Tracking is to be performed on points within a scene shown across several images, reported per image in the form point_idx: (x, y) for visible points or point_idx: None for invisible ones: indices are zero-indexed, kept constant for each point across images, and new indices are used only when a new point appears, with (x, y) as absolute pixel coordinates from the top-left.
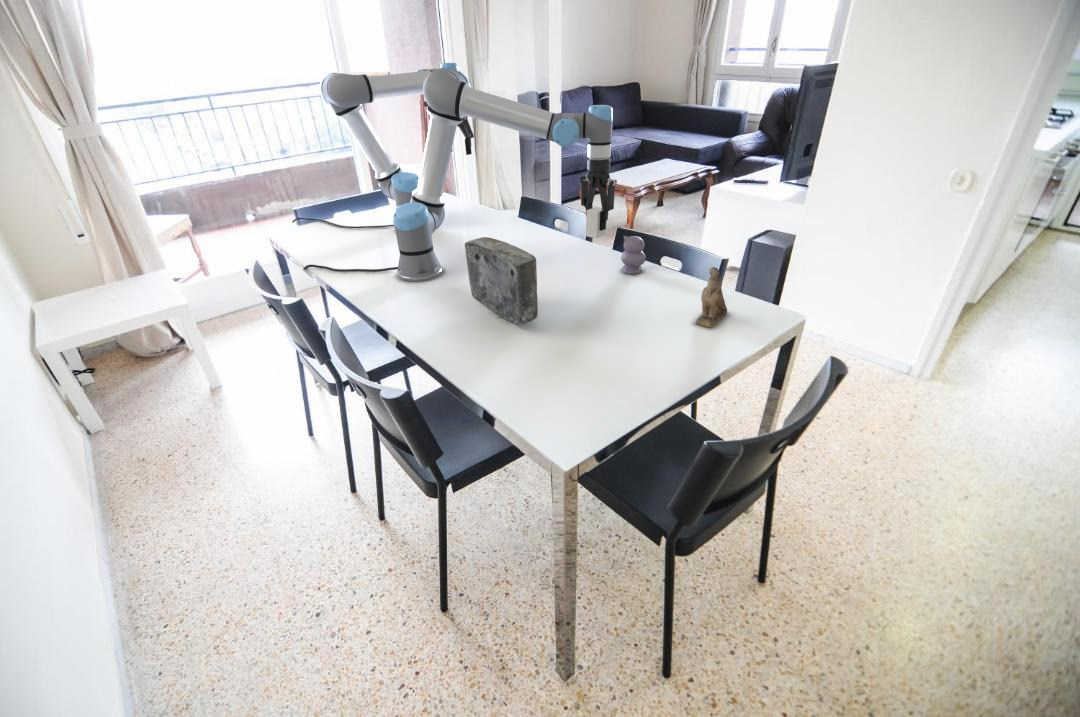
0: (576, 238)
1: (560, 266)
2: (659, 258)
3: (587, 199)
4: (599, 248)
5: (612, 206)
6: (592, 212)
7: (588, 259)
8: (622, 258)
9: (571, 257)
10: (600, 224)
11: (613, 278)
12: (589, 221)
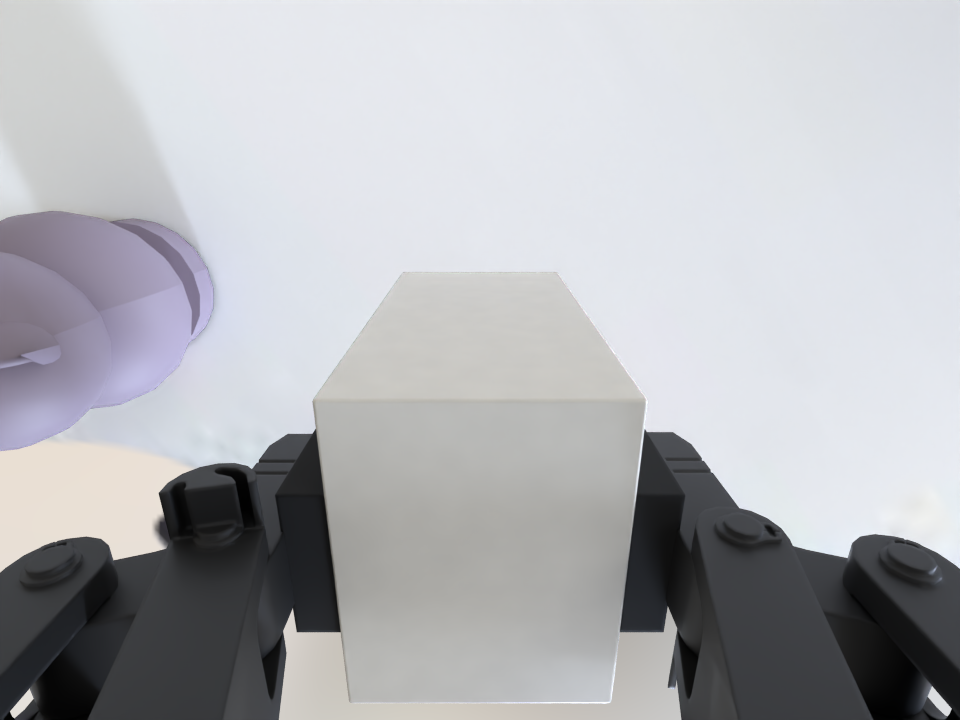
0: None
1: (644, 21)
2: None
3: (836, 714)
4: None
5: (37, 716)
6: (463, 389)
7: None
8: (105, 227)
9: (675, 252)
10: None
11: (138, 73)
12: (525, 324)
